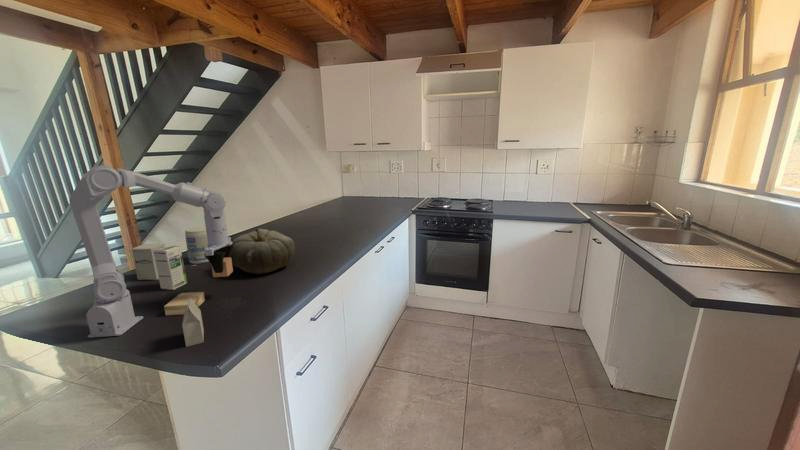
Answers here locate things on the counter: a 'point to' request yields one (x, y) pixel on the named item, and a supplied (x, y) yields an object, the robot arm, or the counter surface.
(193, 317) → the tea bag
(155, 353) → the counter surface
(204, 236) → the supplement tub
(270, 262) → the gourd
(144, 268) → the supplement box
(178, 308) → the beech block
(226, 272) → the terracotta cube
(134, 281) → the counter surface
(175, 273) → the syrup box
